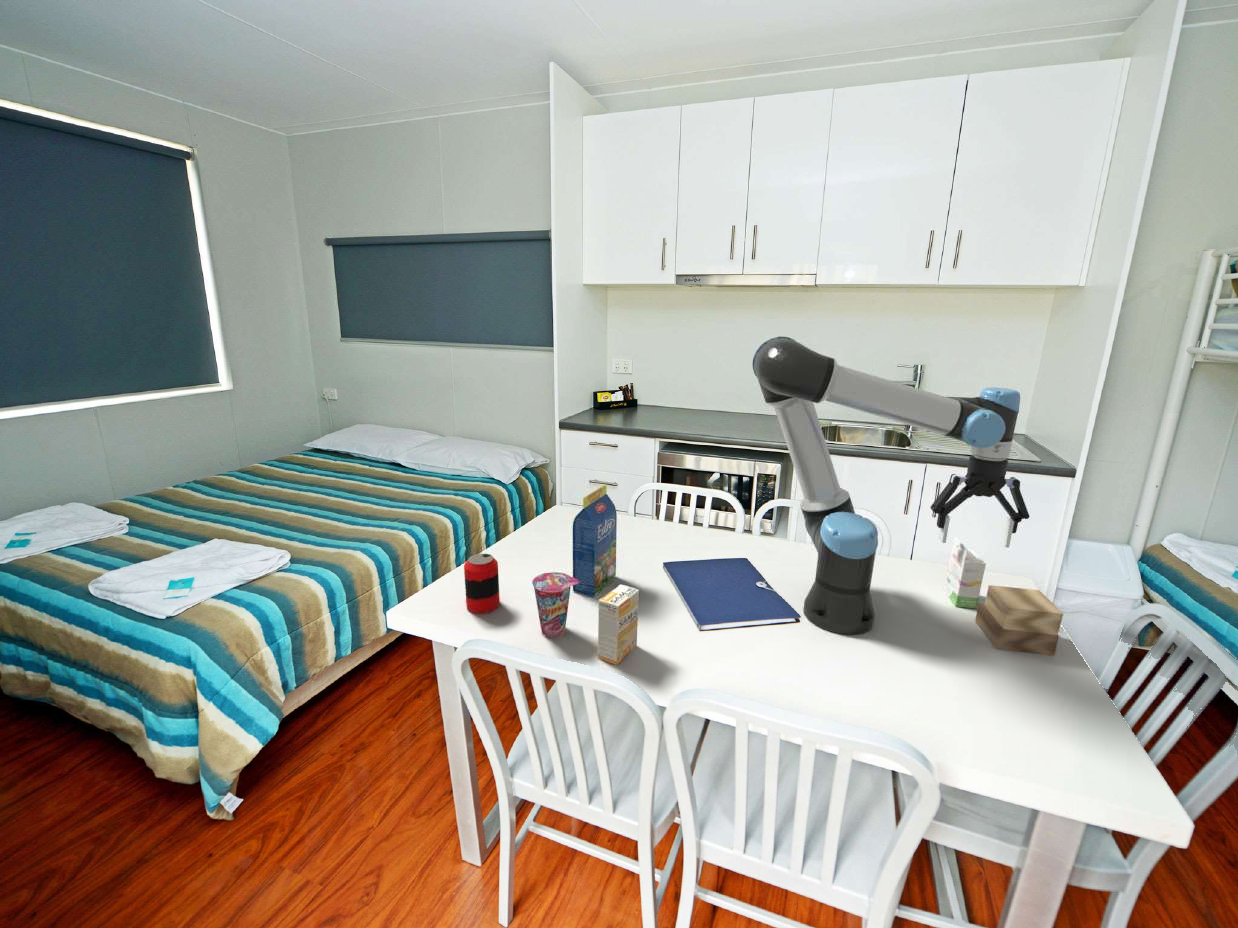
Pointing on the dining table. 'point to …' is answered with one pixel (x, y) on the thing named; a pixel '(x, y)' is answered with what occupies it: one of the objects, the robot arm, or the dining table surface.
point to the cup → (553, 601)
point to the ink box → (964, 576)
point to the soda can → (481, 583)
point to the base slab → (1014, 636)
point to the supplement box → (617, 623)
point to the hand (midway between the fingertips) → (972, 542)
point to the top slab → (1023, 610)
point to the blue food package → (594, 543)
